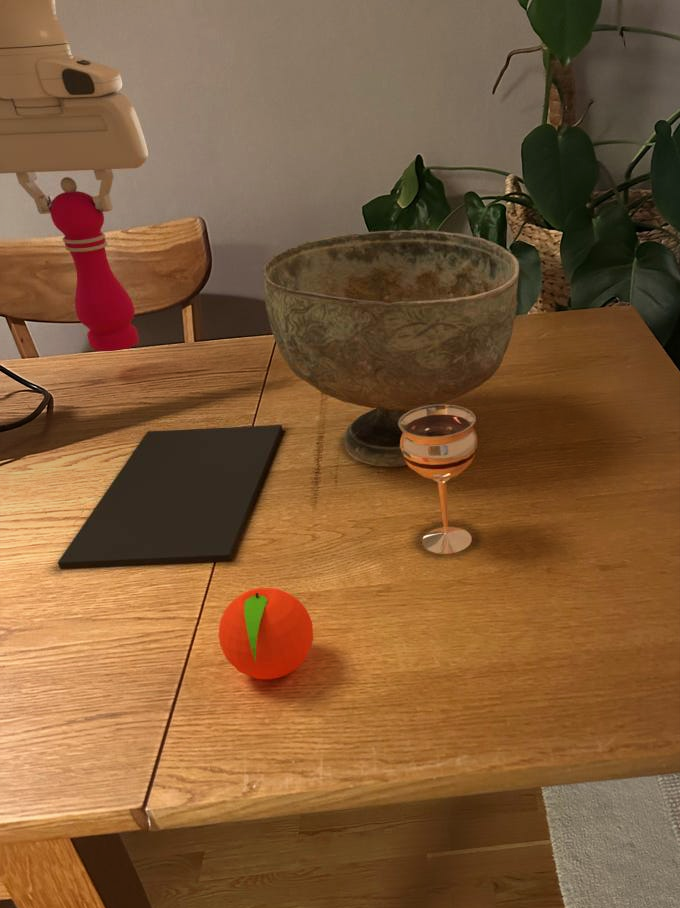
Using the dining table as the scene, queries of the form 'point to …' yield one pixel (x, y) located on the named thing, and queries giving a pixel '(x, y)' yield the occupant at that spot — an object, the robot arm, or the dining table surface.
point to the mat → (177, 499)
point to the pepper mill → (93, 272)
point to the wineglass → (440, 460)
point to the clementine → (266, 633)
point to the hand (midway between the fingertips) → (76, 211)
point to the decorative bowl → (392, 323)
